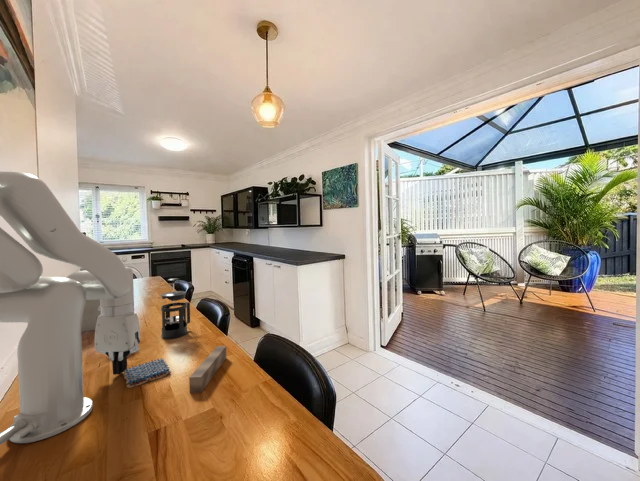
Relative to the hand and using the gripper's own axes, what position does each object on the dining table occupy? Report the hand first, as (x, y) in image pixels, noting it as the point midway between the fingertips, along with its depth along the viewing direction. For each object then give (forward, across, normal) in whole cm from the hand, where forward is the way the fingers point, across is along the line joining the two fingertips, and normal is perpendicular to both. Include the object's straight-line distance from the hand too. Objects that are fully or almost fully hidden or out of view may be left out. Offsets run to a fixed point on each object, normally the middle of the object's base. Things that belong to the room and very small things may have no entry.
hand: (120, 371), depth 73 cm
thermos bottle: (+1, -42, +39) cm, 57 cm away
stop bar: (+1, +26, -1) cm, 26 cm away
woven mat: (+1, +8, 0) cm, 8 cm away
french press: (+1, 0, +30) cm, 30 cm away
